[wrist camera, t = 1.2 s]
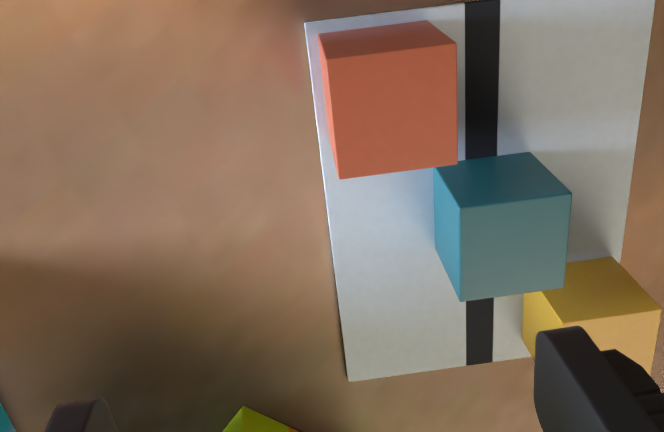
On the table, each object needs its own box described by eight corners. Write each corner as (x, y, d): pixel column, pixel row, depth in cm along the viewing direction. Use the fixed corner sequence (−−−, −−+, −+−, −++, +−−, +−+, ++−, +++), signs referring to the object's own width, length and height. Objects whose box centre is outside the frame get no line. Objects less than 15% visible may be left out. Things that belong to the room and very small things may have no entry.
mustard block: (524, 267, 34) (562, 322, 30) (612, 256, 34) (663, 308, 30) (521, 338, 36) (555, 399, 32) (603, 327, 36) (649, 386, 32)
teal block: (432, 163, 31) (459, 207, 26) (530, 150, 31) (573, 192, 26) (434, 249, 33) (459, 303, 28) (526, 236, 33) (565, 288, 29)
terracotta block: (316, 33, 27) (325, 59, 23) (427, 19, 27) (457, 42, 23) (329, 138, 30) (338, 180, 25) (431, 125, 30) (458, 164, 25)
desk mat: (304, 22, 27) (304, 23, 27) (654, -22, 28) (658, -21, 27) (347, 378, 37) (348, 382, 37) (606, 342, 37) (609, 346, 37)
